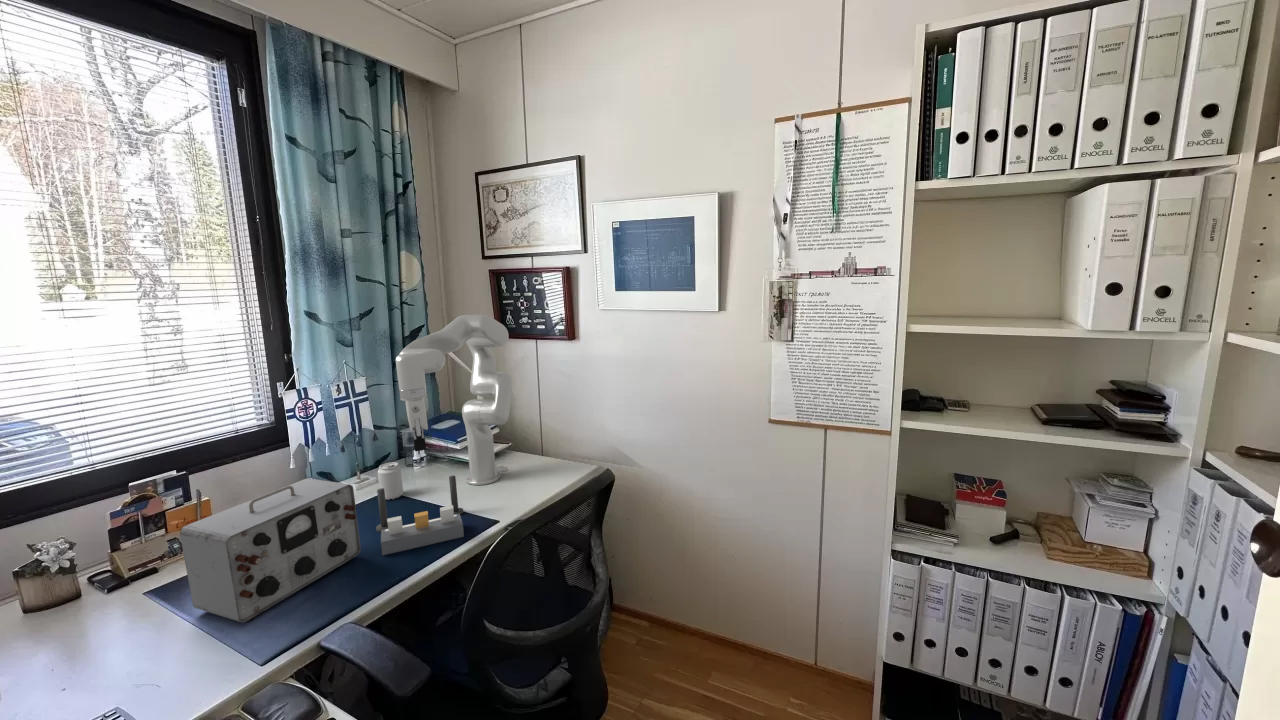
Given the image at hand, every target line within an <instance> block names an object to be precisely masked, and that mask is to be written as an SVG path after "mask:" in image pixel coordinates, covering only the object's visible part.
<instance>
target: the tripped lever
mask: <svg viewBox="0 0 1280 720" xmlns="http://www.w3.org/2000/svg"><path fill="white" fill-rule="evenodd" d="M429 520H430V519H429V512H428V510H426V511H421V512H416V513H414V523H415V526H416V529H419V528H423V527H428V526H429Z"/></svg>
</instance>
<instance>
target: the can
mask: <svg viewBox="0 0 1280 720" xmlns="http://www.w3.org/2000/svg"><path fill="white" fill-rule="evenodd" d="M377 479H378V486H379V487H378V489H381V488H384V491H385V500H387V501H390V499H392V500H396V499H398V498H400V497H401V496H402V495H403V494H404V487H403V476H402V469H401V466H400V465H399V463H398V462H397V461H396V462H395V461H393V462H385V463H383V464H381V465H379V467H378V470H377ZM395 498H396V499H395Z"/></svg>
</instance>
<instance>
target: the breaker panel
mask: <svg viewBox="0 0 1280 720" xmlns="http://www.w3.org/2000/svg"><path fill="white" fill-rule="evenodd" d="M428 520H429V526H428V527H423V528H419V529H416V526H415V522H414V523H409V524H404V525H403V524H402V526H403V532H400V533H395V534H391V535H389V529H385V530H381V532H380V548H381V555H382V556H385V555H386V556H387V555H389V554H395V553H399V552H404V551H408V550H412V549H415V548H417V549H418V548H420V547H425V546H426V547H427V546H429V545H430V546H431V545H434V544H437V543H442V542H446V541H451V540H456V539H460V538H464V537H465V536H464V535H465V533H464V523H463V520H462V516H461V515H460V514H455V515H454V521H451V522H446V523H441V517H437V518H432V519H428Z"/></svg>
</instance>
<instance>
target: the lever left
mask: <svg viewBox="0 0 1280 720" xmlns="http://www.w3.org/2000/svg"><path fill="white" fill-rule="evenodd" d="M387 523H388V529H389V535H391V534H395V533H400V532H403V520H402V515H400V516H399V515H398V516H393V517H389V518H388V519H387Z"/></svg>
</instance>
